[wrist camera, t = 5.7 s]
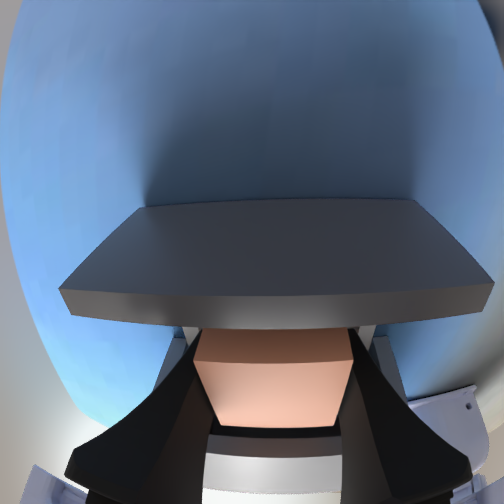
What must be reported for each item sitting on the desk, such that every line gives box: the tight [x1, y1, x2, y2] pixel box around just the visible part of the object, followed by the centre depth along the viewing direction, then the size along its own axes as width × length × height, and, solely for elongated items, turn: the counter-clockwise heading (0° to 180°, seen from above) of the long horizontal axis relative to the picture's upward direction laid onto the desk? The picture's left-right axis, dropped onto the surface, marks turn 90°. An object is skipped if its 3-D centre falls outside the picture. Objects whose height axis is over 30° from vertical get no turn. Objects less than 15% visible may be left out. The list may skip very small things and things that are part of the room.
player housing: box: [152, 336, 408, 494], centre depth 15 cm, size 13×11×7 cm
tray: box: [58, 199, 495, 350], centre depth 11 cm, size 12×11×6 cm
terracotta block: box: [193, 327, 353, 428], centre depth 10 cm, size 4×4×4 cm
